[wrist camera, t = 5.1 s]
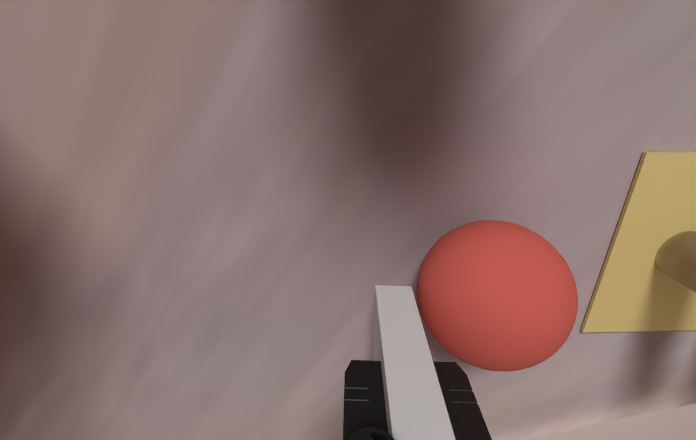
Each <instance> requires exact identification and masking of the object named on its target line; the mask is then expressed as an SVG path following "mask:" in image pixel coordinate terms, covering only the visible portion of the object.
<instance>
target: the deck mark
mask: <svg viewBox="0 0 696 440" xmlns="http://www.w3.org/2000/svg"><path fill="white" fill-rule="evenodd" d="M685 231H695V232H696V152H643V154H642V157H641V160H640V162H639V165H638V168H637V171H636V174H635V177H634V179H633V182H632V185H631V188H630V191H629V194H628V196H627V199H626V202H625V205H624V208H623V211H622V213H621V216H620V219H619V222H618V225H617V228H616V230H615V233H614V236H613V239H612V242H611V245H610V247H609V250H608V253H607V256H606V259H605V262H604V264H603V267H602V270H601V273H600V276H599V279H598V281H597V284H596V287H595V290H594V293H593V296H592V298H591V301H590V304H589V307H588V310H587V313H586V315H585V318H584V321H583V324H582V327H581V331H582V332H583V333H587V332H637V331H688V330H696V293H695V292H694V291H692V290H690V289H689V288H687V287H686V286H684V285H682V284H681V283H679V282H678V281H676V280H674V279H673V278H671V277H670V276H668V275H666V274H665V273H663V272H662V271H660V270H659V269H658V268H657V267H656V264H655V256H656V253H657V251H658V249H659V248H660V247H661V245H662V244H663V243H664V242H665V241H666V240H668V239H669V238H670V237H672V236H674V235H676V234H678V233H681V232H685Z"/></svg>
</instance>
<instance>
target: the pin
mask: <svg viewBox="0 0 696 440" xmlns="http://www.w3.org/2000/svg"><path fill="white" fill-rule="evenodd" d="M655 264H656V267H657V268H658V269H659V270H660V271H662V272H663V273H665V274H666V275H668V276H670V277H671V278H673V279H674V280H676V281H678V282H679V283H681V284H682V285H684V286H686V287H687V288H689V289H690V290H692V291H694V292H695V293H696V232H695V231H685V232H681V233H678V234H676V235H674V236H672V237H670V238H669V239H668V240H666V241H665V242H664V243H663V244H662V245H661V247H660V248H659V249H658V251H657V253H656V256H655Z"/></svg>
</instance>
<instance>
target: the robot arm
mask: <svg viewBox="0 0 696 440" xmlns="http://www.w3.org/2000/svg"><path fill="white" fill-rule="evenodd" d="M372 349H373V361H363V360H351V362H350V364H349V366H348V368H347V369H346V371H345V387H344V421H343V440H492V439H491V437H490V434H489V431H488V429H487V426H486V424H485V421H484V419H483V416H482V413H481V411H480V408H479V406H478V404H477V401H476V398H475V395H474V393H473V392H472V388H471V385H470V383H469V380H468V377H467V375H466V374H465V373H464V371H463V370H462V369H461V368H460V367H459V366H458V365H457V363H456V362H433V360H432V356H431V353H430V349H429V346H428V342H427V339H426V336H425V332H424V329H423V325H422V322H421V318H420V315H419V311H418V308H417V304H416V301H415V297H414V294H413V290H412V287H409V286H377V285H375V297H374V311H373V325H372Z"/></svg>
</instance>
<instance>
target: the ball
mask: <svg viewBox="0 0 696 440" xmlns="http://www.w3.org/2000/svg"><path fill="white" fill-rule="evenodd" d="M417 297H418V303H419V307H420V311H421V314H422V317H423V319H424V321H425V323H426V326H427V327H428V329H429V330H430V332H431V333H432V335H433V336H434V338H435V339H436V340H437V341H438V342H439V343H440V344H441V345H442V346H443V347H444V348H445V349H446V350H447V351H448V352H449V353H451V354H452V355H454V356H455V357H457V358H458V359H460V360H462V361H464V362H466V363H468V364H470V365H473V366H476V367H479V368H482V369H486V370H492V371H516V370H521V369H525V368H529V367H532V366H535V365H537V364H539V363H541V362H543V361H545V360H546V359H548V358H549V357H551V356H552V355H553V354H554V353H555V352H556V351H558V350H559V348H560V347H561V346H562V345H563V344H564V343H565V341H566V340H567V338H568V336H569V335H570V333H571V331H572V329H573V326H574V323H575V319H576V315H577V308H578V296H577V289H576V284H575V281H574V278H573V275H572V273H571V271H570V269H569V267H568V265H567V263H566V261H565V260H564V258H563V257H562V256H561V254H560V253H559V252H558V251H557V250H556V249H555V248H554V247H553V246H552V245H551V244H550V243H549V242H548V241H547V240H545V239H544V238H543V237H541V236H540V235H538V234H537V233H535V232H533V231H531V230H529V229H527V228H525V227H523V226H520V225H517V224H513V223H509V222H504V221H493V220H491V221H477V222H473V223H469V224H466V225H463V226H460V227H457V228H456V229H454V230H452V231H450V232H449V233H447V234H446V235H444V236H443V237H441V238H440V239H439V240H438V241H437V242H436V243H435V244H434V245H433V247H432V248H431V249H430V251H429V252H428V253H427V255H426V257H425V259H424V261H423V263H422V266H421V269H420V272H419V276H418V283H417Z"/></svg>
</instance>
